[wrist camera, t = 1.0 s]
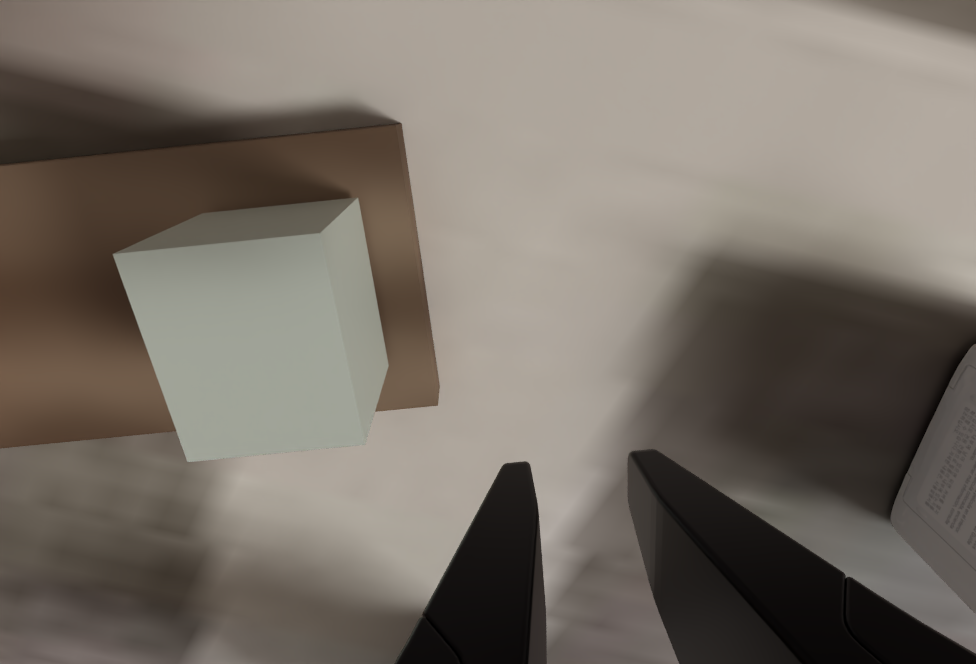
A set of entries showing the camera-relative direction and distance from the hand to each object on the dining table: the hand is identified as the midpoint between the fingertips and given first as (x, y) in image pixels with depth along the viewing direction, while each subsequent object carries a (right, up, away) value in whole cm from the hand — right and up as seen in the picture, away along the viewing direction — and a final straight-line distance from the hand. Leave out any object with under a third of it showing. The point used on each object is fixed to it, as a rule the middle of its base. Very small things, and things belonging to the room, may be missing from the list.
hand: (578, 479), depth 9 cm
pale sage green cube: (-8, +4, +10) cm, 13 cm away
